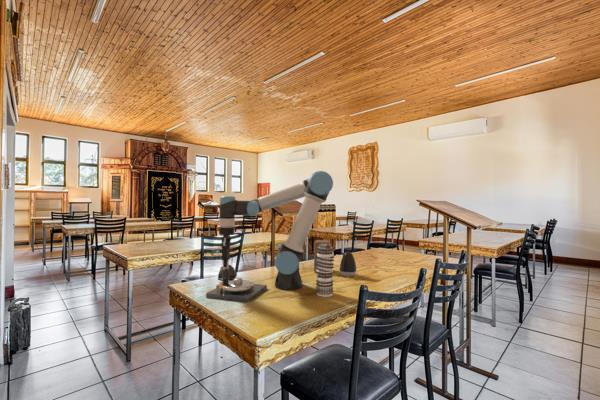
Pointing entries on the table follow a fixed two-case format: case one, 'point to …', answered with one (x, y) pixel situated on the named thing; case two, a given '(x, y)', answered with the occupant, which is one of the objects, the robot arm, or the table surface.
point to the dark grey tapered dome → (348, 264)
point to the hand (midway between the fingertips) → (225, 272)
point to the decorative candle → (324, 270)
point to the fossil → (231, 273)
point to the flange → (235, 283)
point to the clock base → (236, 293)
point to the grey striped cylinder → (317, 249)
